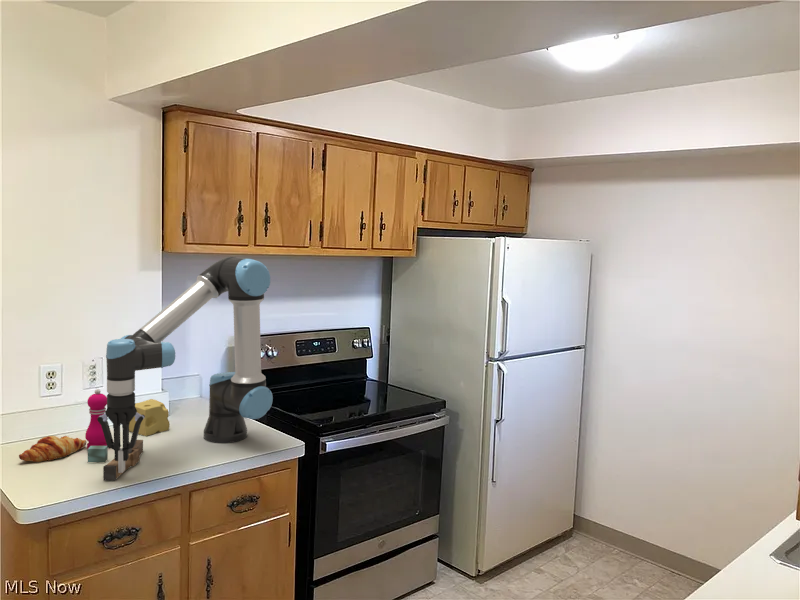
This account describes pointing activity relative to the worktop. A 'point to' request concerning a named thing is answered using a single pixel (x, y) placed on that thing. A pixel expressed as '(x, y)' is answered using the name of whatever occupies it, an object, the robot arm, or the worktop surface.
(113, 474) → the leg
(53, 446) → the croissant
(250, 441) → the worktop surface
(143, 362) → the robot arm
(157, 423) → the cheese
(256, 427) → the worktop surface
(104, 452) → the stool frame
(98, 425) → the pepper mill
